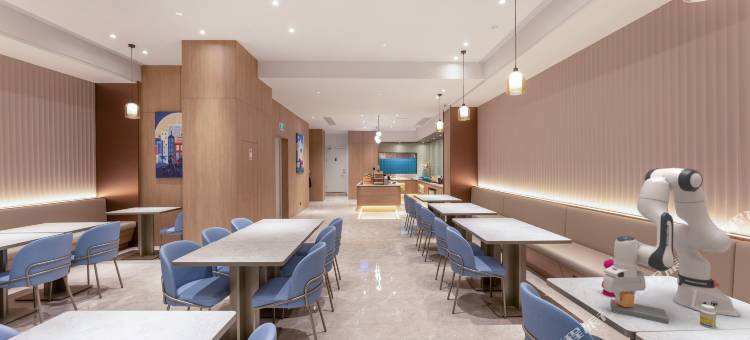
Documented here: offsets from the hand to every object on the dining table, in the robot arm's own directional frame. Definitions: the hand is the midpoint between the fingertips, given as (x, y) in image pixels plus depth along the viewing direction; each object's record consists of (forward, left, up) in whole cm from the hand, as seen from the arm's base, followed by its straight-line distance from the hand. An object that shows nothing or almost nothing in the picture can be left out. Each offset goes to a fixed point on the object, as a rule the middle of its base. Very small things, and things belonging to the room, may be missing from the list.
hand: (624, 300), depth 153 cm
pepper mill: (+5, -19, -5) cm, 20 cm away
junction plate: (-5, 0, -5) cm, 7 cm away
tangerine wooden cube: (0, 0, -2) cm, 2 cm away
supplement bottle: (-29, -2, -5) cm, 29 cm away
